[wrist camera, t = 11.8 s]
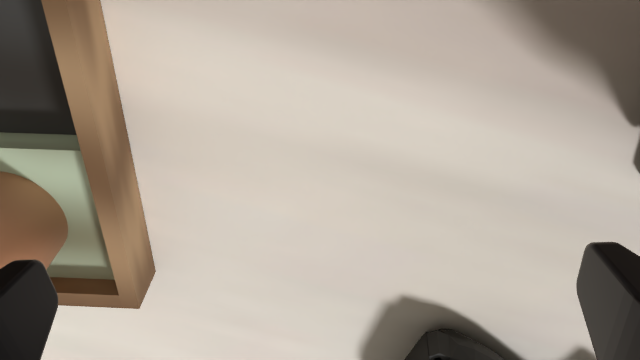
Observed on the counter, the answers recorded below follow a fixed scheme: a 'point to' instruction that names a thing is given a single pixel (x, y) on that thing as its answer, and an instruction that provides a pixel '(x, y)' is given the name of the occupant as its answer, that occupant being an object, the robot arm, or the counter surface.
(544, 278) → the counter surface
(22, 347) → the robot arm
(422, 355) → the pistol
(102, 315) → the counter surface
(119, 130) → the box
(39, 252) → the smooth tapered peach-colored object
